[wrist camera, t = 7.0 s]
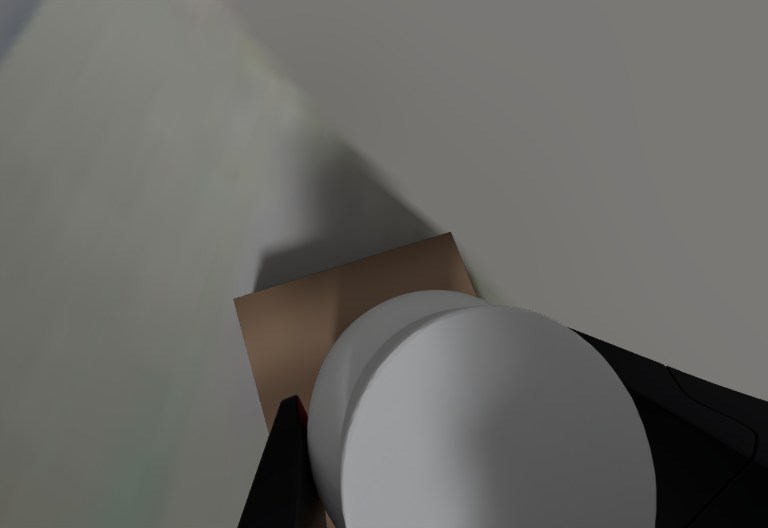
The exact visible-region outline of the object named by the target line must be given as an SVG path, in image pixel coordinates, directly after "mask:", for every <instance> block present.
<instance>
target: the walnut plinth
mask: <svg viewBox="0 0 768 528" xmlns="http://www.w3.org/2000/svg"><path fill="white" fill-rule="evenodd" d="M424 290H447V291H454V292H460V293H464V294H468V295H472V296H474V297H477V296H476V294H475V291H474V289H473V286H472V284H471V281H470V279H469V276H468V274H467V271H466V269H465V266H464V264H463V261H462V259H461V256H460V254H459V251H458V249H457V246H456V244H455V241H454V239H453V236H452V234H451V232H449V233H445V234H442V235H439V236H436V237H432V238H429V239H426V240H423V241H419V242H416V243H413V244H410V245H407V246H403V247H400V248H397V249H394V250H390V251H387V252H384V253H381V254H377V255H374V256H371V257H368V258H364V259H361V260H358V261H355V262H352V263H348V264H345V265H342V266H339V267H335V268H332V269H329V270H326V271H322V272H319V273H316V274H313V275H309V276H306V277H303V278H300V279H297V280H293V281H290V282H287V283H284V284H280V285H277V286H274V287H271V288H267V289H264V290H261V291H258V292H254V293H251V294H248V295H245V296H242V297H238V298H235V299H233V300H234V304H235V307H236V311H237V315H238V319H239V322H240V326H241V330H242V334H243V338H244V341H245V345H246V349H247V353H248V356H249V360H250V364H251V368H252V372H253V375H254V379H255V383H256V387H257V390H258V394H259V398H260V402H261V405H262V409H263V413H264V417H265V421H266V424H267V428H268V432H269V434H270V431H271V428H272V425H273V422H274V420H275V417H276V414H277V411H278V408H279V405H280V402H281V401H282V400H283V399H285V398H288V397H290V396H293V395H298V396H299V398H300V400H301V402H302V404H303V406H304V408H305V410H306V412H307V415H309V406H310V402H311V397H312V393H313V389H314V385H315V382H316V379H317V376H318V373H319V371H320V368H321V366H322V364H323V362H324V360H325V358H326V356H327V354H328V353H329V351H330V350H331V348H332V346H333V345H334V343H335V342H336V341H337V339H338V338H339V337H340V336H341V334H342V333H343V332H344V331H345V330H346V329H347V328H348V327H349V326H350V325H351V324H352V323H353V322H354V321H355V320H356V319H357V318H359V317H360V316H361V315H363V314H364V313H365V312H367V311H369V310H370V309H372V308H373V307H375V306H377V305H379V304H381V303H383V302H385V301H387V300H389V299H392V298H394V297H397V296H400V295H404V294H407V293H412V292H416V291H424ZM325 512H326V510H325ZM326 522H327V528H336V527H335V526H334V524H333V523H332V521H331V519H330V518H329V516H328V514H327V512H326Z"/></svg>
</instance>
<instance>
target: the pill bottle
mask: <svg viewBox="0 0 768 528" xmlns="http://www.w3.org/2000/svg"><path fill="white" fill-rule="evenodd" d="M307 444H308V455H309V462H310V467H311V472H312V477H313V480H314V483H315V486H316V489H317V492H318V495H319V498H320V500H321V502H322V504H323V506H324V508H325V510H326V512H327V514H328V516H329V518H330V519H331V521H332V523H333V524H334V526H335V527H336V528H655V519H656V479H655V470H654V465H653V460H652V455H651V450H650V446H649V443H648V440H647V436H646V433H645V429H644V426H643V423H642V421H641V418H640V416H639V414H638V411H637V409H636V406H635V404H634V402H633V399H632V398H631V396H630V394H629V393H628V391H627V389H626V388H625V386H624V385H623V383H622V381H621V380H620V379H619V377H618V376H617V374H616V373H615V371H614V370H613V369H612V367H611V366H610V365H609V364H608V362H607V361H606V360H605V359H604V358H603V357H602V355H601V354H600V353H599V352H598V351H597V350H596V349H595V348H594V347H593V346H592V345H590V344H589V343H588V342H587V341H585V340H584V339H583V338H582V337H580V336H579V335H578V334H577V333H576V332H574V331H572V330H571V329H569V328H567V327H566V326H564V325H562V324H561V323H559V322H557V321H555V320H553V319H551V318H549V317H546V316H543V315H542V314H539V313H536V312H533V311H530V310H526V309H521V308H516V307H509V306H503V305H493V304H491V303H489V302H487V301H485V300H482V299H480V298H477V297H474V296H472V295H468V294H464V293H460V292H454V291H447V290H424V291H416V292H412V293H407V294H404V295H400V296H397V297H394V298H392V299H389V300H387V301H385V302H383V303H381V304H379V305H377V306H375V307H373V308H372V309H370V310H369V311H367V312H365V313H364V314H363V315H361V316H360V317H359V318H357V319H356V320H355V321H354V322H353V323H352V324H351V325H350V326H349V327H348V328H347V329H346V330H345V331H344V332H343V333H342V334H341V336H340V337H339V338H338V339H337V341H336V342H335V343H334V345H333V346H332V348H331V350H330V351H329V353H328V354H327V356H326V358H325V360H324V362H323V364H322V366H321V368H320V371H319V373H318V376H317V379H316V382H315V385H314V389H313V393H312V397H311V402H310V406H309V415H308V425H307Z"/></svg>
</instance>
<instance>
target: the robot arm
mask: <svg viewBox="0 0 768 528" xmlns="http://www.w3.org/2000/svg"><path fill="white" fill-rule="evenodd" d="M567 328H569V327H567ZM569 329H571V328H569ZM571 330H572V331H574V332H576V333H577V334H578V335H579V336H580V337H582V338H583V339H584V340H585V341H587V342H588V343H589V344H590V345H592V346H593V347H594V348H595V349H596V350H597V351H598V352H599V353H600V354H601V355H602V357H603V358H604V359H605V360H606V361H607V362H608V364H609V365H610V366H611V367H612V369H613V370H614V371H615V373H616V374H617V376H618V377H619V379H620V380H621V381H622V383H623V385H624V386H625V388H626V389H627V391H628V393H629V394H630V396H631V398H632V399H633V402H634V404H635V406H636V409H637V411H638V414H639V416H640V418H641V421H642V423H643V426H644V429H645V433H646V436H647V440H648V443H649V446H650V450H651V455H652V460H653V465H654V470H655V479H656V519H655V528H768V401H764V400H761V399H758V398H755V397H752V396H749V395H746V394H743V393H740V392H737V391H734V390H731V389H728V388H725V387H722V386H719V385H717V384H714V383H711V382H708V381H706V380H703V379H700V378H697V377H695V376H692V375H689V374H687V373H684V372H681V371H679V370H676V369H674V368H671V367H669V366H666V367H665V366H664V365H663V364H660V363H658V362H656V361H653V360H651V359H648V358H645V357H642V356H640V355H638V354H635V353H633V352H630V351H627V350H625V349H622V348H620V347H617V346H615V345H612V344H610V343H607V342H604V341H602V340H599V339H597V338H594V337H592V336H589V335H586V334H584V333H581V332H579V331H576V330H574V329H571ZM307 425H308V415H307V412H306V410H305V408H304V406H303V404H302V402H301V400H300V398H299V396H298V395H293V396H290V397H288V398H285V399H283V400H282V401H281V402H280V405H279V408H278V411H277V414H276V417H275V420H274V422H273V425H272V428H271V431H270V434H269V437H268V440H267V443H266V446H265V449H264V452H263V454H262V457H261V460H260V463H259V466H258V469H257V472H256V475H255V478H254V481H253V483H252V486H251V489H250V492H249V495H248V498H247V501H246V504H245V507H244V510H243V513H242V515H241V518H240V521H239V524H238V527H237V528H327V522H326V512H325V508H324V506H323V504H322V502H321V500H320V498H319V495H318V492H317V489H316V486H315V483H314V480H313V477H312V472H311V467H310V462H309V455H308V444H307Z"/></svg>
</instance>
